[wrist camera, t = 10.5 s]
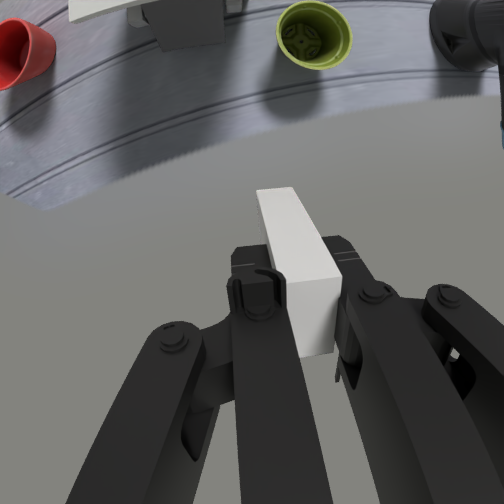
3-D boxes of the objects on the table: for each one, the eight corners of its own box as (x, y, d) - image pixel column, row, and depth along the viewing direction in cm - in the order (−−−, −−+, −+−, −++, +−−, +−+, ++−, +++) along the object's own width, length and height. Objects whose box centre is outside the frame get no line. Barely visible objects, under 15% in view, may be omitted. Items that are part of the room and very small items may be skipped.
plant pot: (304, 84, 41) (320, 85, 33) (254, 44, 37) (259, 35, 30) (343, 43, 37) (366, 37, 30) (295, 3, 34) (309, -13, 27)
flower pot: (15, 93, 36) (-20, 100, 27) (14, 35, 30) (-21, 33, 22) (64, 77, 36) (31, 79, 28) (64, 15, 31) (33, 6, 22)
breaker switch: (226, 30, 33) (221, -55, 17) (228, 42, 33) (222, -43, 17) (160, 40, 32) (124, -37, 17) (160, 52, 33) (122, -24, 17)
